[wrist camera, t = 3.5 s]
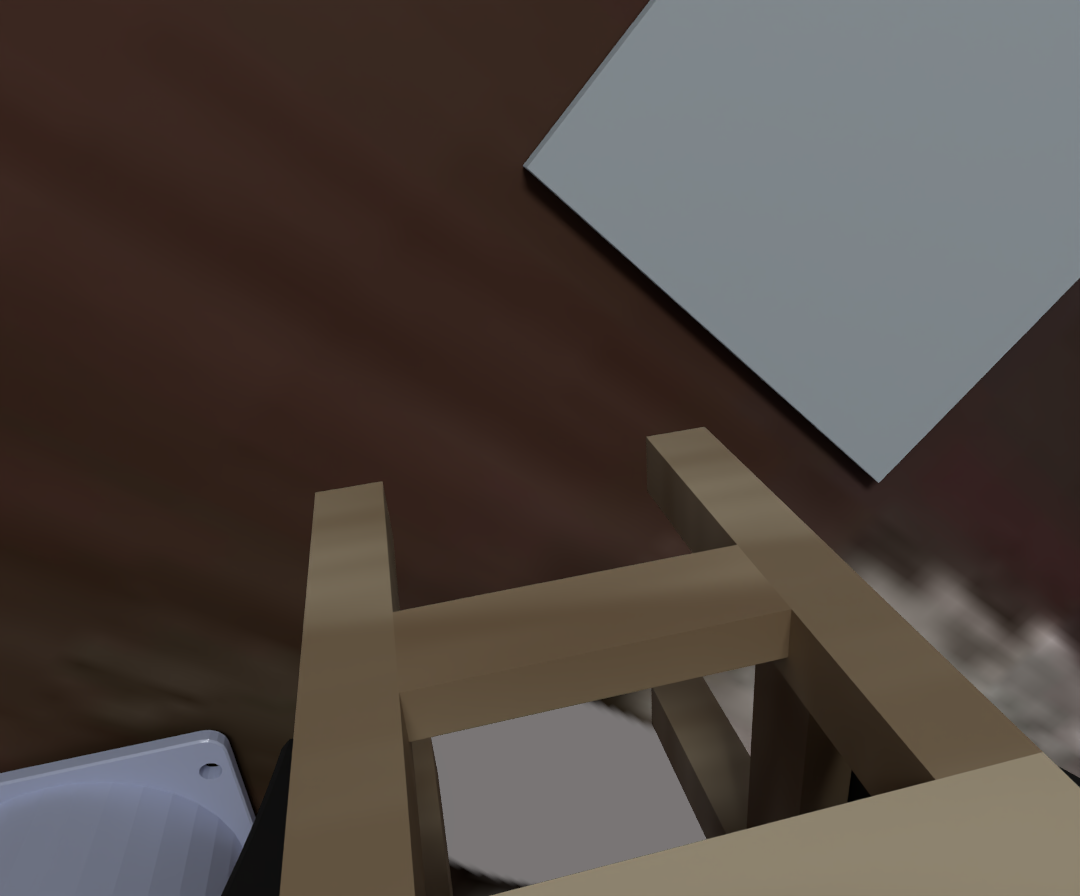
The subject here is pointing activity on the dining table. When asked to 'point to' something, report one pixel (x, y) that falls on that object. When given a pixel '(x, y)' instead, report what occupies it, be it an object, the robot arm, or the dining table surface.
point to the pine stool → (669, 712)
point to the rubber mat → (840, 190)
